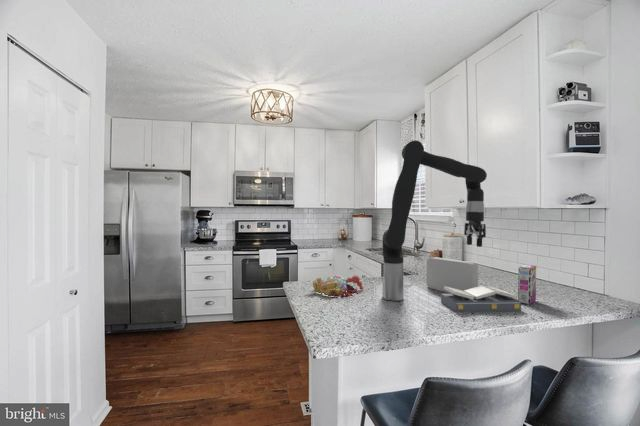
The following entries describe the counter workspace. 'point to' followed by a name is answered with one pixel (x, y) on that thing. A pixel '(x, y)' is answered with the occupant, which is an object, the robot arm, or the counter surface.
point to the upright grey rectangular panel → (451, 274)
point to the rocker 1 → (458, 292)
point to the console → (481, 303)
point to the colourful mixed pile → (337, 282)
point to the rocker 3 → (502, 292)
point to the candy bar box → (527, 284)
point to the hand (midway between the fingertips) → (474, 245)
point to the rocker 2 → (480, 292)
